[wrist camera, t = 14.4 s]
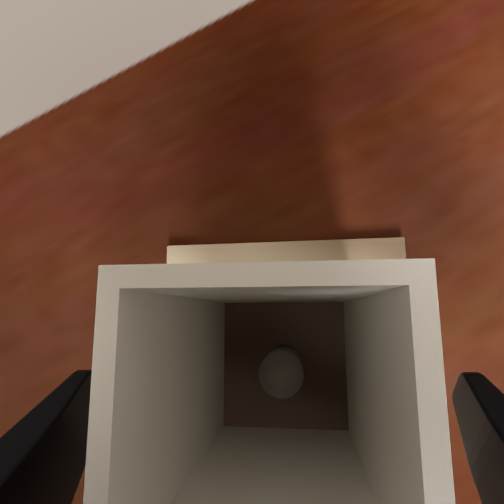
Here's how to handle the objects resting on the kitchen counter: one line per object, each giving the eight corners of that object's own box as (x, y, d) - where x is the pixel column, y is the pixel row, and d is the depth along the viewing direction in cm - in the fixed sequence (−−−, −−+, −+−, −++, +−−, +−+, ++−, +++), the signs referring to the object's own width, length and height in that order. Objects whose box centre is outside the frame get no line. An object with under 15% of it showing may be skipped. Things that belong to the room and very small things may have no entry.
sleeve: (360, 442, 17) (470, 678, 6) (213, 436, 18) (74, 633, 7) (353, 291, 18) (435, 258, 7) (215, 292, 19) (98, 265, 8)
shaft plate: (423, 503, 16) (456, 553, 13) (163, 490, 18) (131, 533, 14) (402, 238, 18) (425, 221, 15) (169, 247, 20) (142, 233, 16)
